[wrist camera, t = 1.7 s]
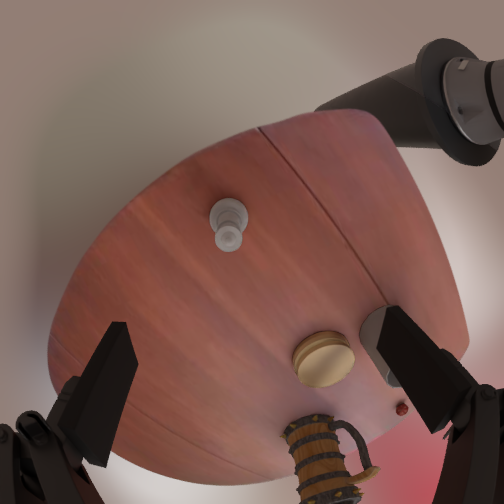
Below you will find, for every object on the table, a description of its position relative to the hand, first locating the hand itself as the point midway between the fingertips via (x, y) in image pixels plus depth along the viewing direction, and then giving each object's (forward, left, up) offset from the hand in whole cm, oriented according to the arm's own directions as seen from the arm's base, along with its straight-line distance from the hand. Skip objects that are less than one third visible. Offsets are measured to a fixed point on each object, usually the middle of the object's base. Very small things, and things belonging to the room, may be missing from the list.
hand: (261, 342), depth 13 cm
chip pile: (-16, +17, -21) cm, 31 cm away
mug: (-23, +36, -21) cm, 48 cm away
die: (-43, +32, -21) cm, 58 cm away
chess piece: (+2, -1, -21) cm, 21 cm away
